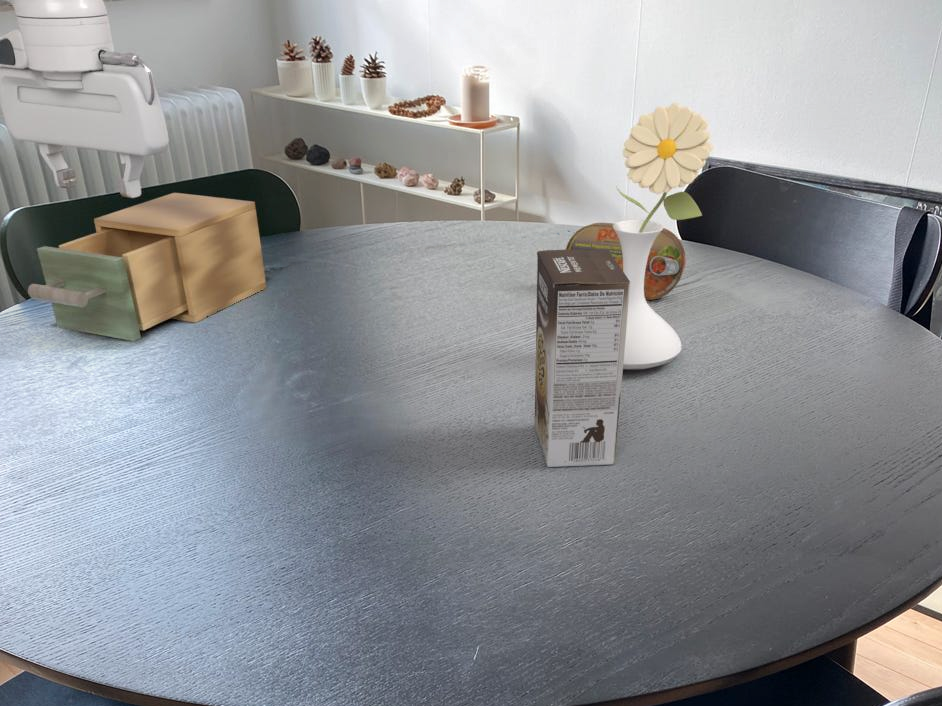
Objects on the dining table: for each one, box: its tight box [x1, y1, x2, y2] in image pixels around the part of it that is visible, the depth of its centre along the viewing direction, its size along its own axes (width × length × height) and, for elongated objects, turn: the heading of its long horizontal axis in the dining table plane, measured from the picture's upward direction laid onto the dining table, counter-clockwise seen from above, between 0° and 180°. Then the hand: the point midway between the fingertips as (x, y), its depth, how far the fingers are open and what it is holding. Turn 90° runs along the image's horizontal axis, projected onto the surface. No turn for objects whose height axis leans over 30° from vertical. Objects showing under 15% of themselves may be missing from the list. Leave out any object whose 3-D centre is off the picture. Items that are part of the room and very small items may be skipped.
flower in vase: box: [613, 102, 713, 370], centre depth 99 cm, size 13×11×25 cm
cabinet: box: [93, 192, 267, 323], centre depth 122 cm, size 15×13×11 cm
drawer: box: [27, 228, 188, 342], centre depth 113 cm, size 18×11×9 cm, turn 155°
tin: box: [565, 222, 686, 301], centre depth 122 cm, size 15×3×8 cm, turn 68°
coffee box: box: [534, 248, 630, 468], centre depth 85 cm, size 9×6×16 cm
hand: (98, 191), depth 110 cm, fingers open, 8 cm apart
